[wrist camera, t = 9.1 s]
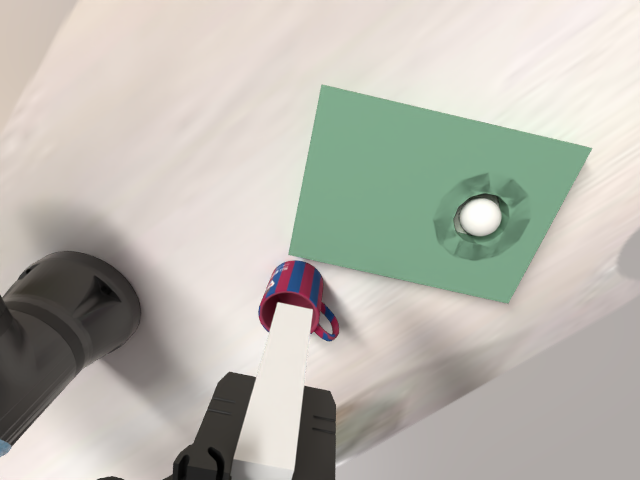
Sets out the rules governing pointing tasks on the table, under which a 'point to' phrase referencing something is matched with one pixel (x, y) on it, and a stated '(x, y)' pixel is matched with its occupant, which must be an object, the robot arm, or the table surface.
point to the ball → (480, 217)
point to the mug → (297, 296)
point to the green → (426, 193)
